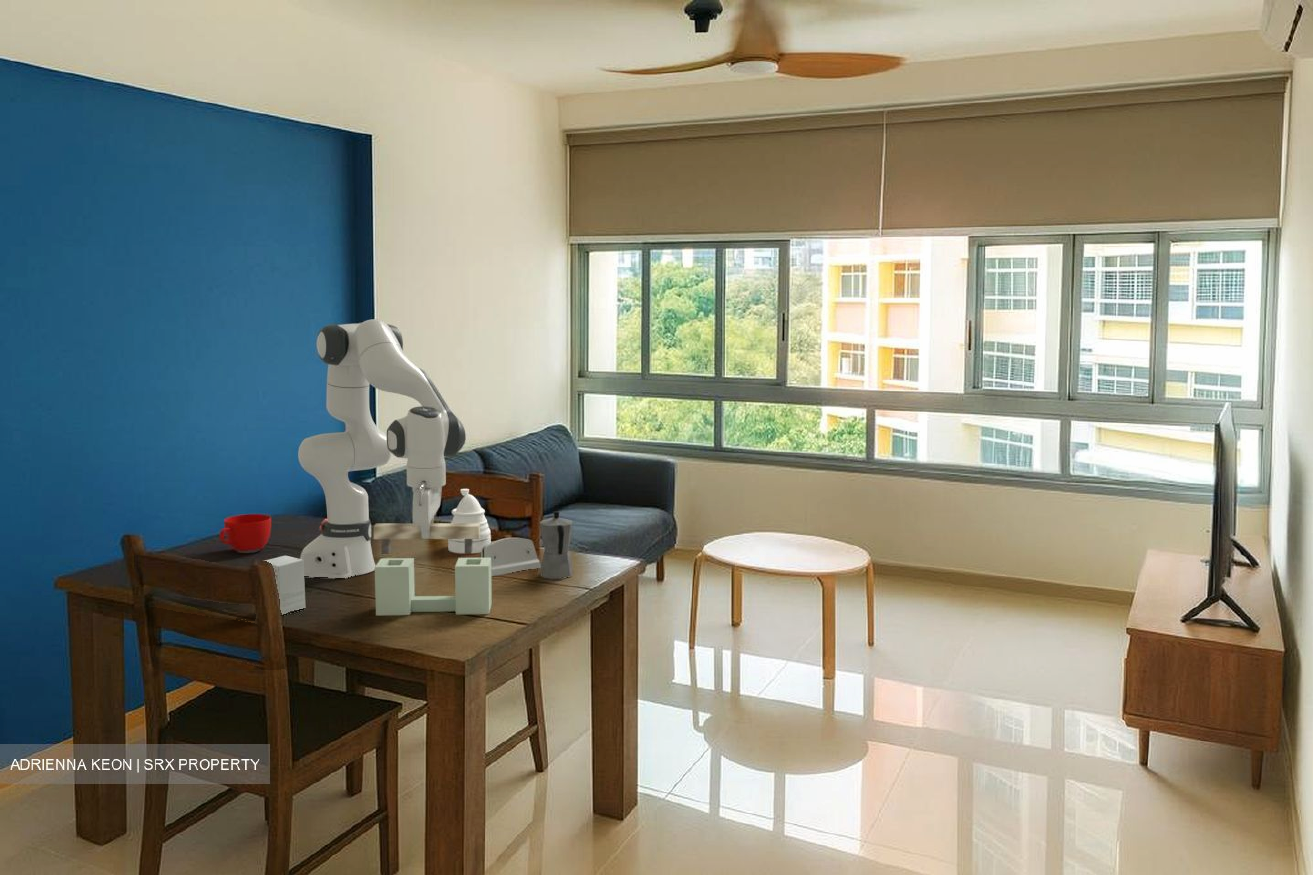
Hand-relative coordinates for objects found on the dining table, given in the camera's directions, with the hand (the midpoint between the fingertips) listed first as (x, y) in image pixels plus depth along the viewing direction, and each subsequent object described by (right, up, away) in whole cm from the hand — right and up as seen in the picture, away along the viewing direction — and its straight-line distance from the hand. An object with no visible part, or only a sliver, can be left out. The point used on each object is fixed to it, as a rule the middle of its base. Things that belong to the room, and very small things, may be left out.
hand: (427, 535), depth 236 cm
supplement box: (-37, -20, +11) cm, 44 cm away
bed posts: (-1, -20, +13) cm, 23 cm away
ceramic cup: (-69, -12, +64) cm, 95 cm away
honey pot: (-4, -11, +73) cm, 74 cm away
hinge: (+12, -15, +50) cm, 54 cm away
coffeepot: (+26, -16, +44) cm, 53 cm away
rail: (0, -4, +1) cm, 4 cm away
